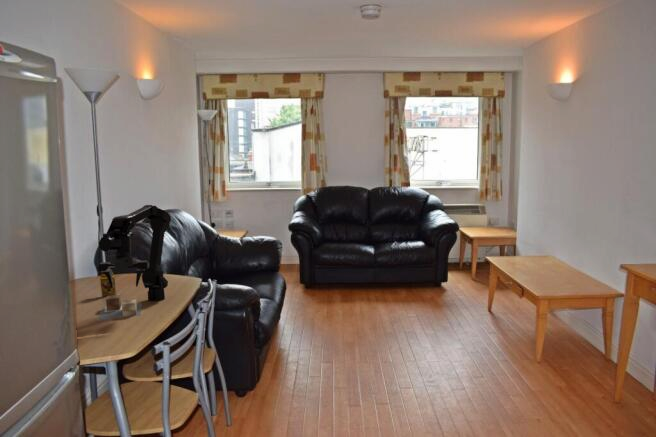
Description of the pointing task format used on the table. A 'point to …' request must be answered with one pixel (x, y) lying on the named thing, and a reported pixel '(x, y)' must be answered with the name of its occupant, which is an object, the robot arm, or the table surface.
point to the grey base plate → (116, 313)
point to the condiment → (107, 286)
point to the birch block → (129, 307)
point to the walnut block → (113, 302)
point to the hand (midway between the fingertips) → (124, 287)
